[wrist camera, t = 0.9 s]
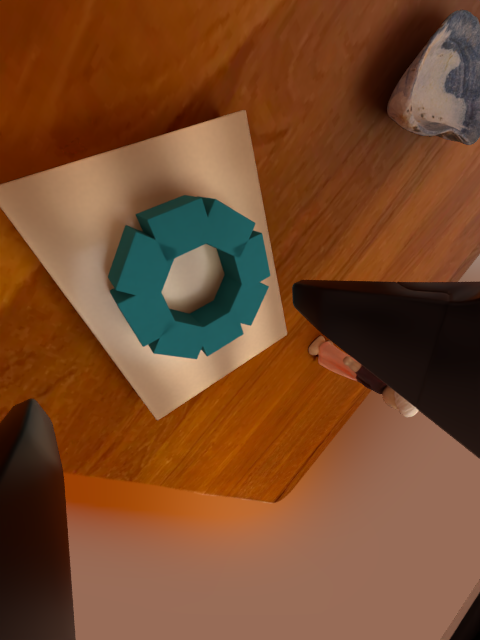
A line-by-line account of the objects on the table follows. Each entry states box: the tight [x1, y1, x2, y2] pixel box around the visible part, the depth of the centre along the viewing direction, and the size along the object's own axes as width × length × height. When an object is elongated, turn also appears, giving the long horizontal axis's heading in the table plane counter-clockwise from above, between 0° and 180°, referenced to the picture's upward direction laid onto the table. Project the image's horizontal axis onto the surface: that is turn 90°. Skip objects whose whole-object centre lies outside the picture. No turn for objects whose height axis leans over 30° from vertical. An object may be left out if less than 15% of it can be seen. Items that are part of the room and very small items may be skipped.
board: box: [0, 110, 287, 420], centre depth 21 cm, size 14×18×3 cm
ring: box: [108, 195, 271, 359], centre depth 18 cm, size 10×10×2 cm
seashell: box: [387, 10, 480, 145], centre depth 26 cm, size 15×12×5 cm
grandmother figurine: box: [309, 336, 419, 417], centre depth 32 cm, size 8×4×13 cm, turn 62°
